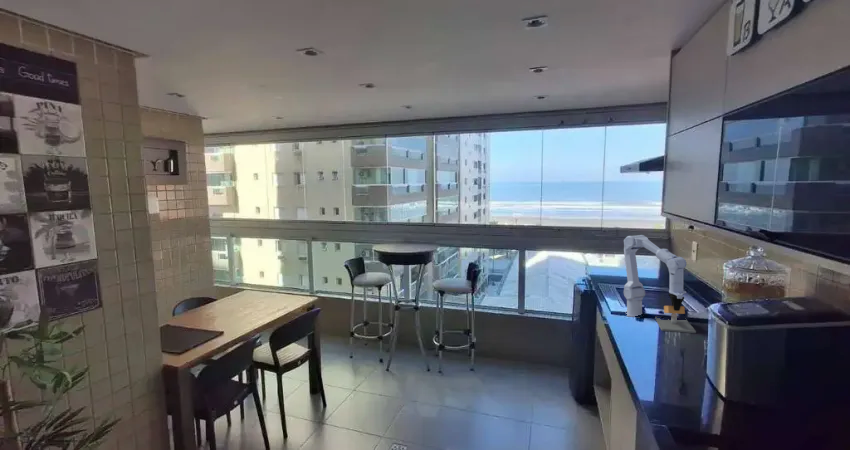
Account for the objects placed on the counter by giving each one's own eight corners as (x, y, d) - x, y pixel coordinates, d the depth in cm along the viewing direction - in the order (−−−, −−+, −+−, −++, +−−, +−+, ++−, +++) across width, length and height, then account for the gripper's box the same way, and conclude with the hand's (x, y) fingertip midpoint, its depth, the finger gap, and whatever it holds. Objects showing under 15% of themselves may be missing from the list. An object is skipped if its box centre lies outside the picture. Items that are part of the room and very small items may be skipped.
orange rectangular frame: (664, 312, 203) (663, 305, 204) (679, 313, 201) (679, 306, 202) (668, 312, 193) (668, 305, 194) (684, 313, 191) (684, 306, 192)
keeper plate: (654, 318, 210) (654, 306, 210) (685, 320, 205) (685, 308, 205) (661, 330, 192) (661, 318, 191) (696, 333, 187) (696, 320, 186)
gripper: (689, 285, 184) (689, 314, 185) (682, 279, 198) (682, 306, 199) (672, 285, 187) (672, 313, 188) (666, 278, 200) (665, 305, 201)
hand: (676, 309), depth 193 cm, fingers closed on orange rectangular frame, 2 cm apart
